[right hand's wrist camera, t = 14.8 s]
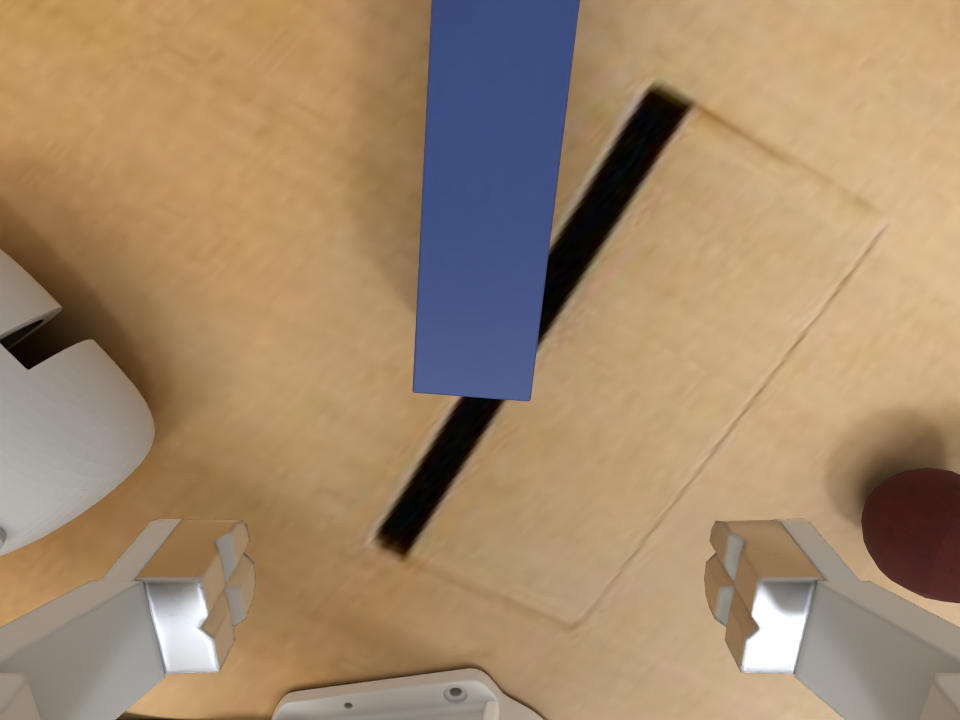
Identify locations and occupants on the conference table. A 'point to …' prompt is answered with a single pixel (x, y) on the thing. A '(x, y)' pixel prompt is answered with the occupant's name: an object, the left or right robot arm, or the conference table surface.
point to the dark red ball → (917, 531)
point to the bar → (489, 191)
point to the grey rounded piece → (59, 421)
